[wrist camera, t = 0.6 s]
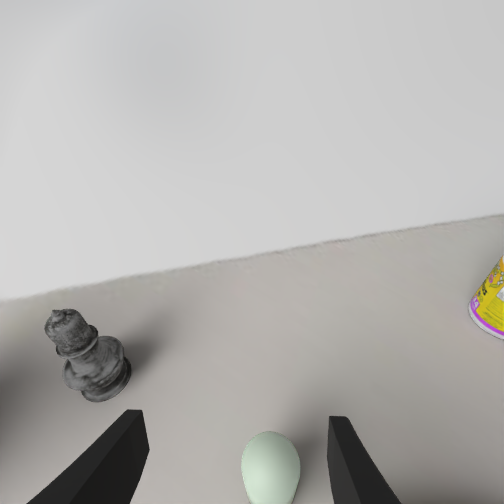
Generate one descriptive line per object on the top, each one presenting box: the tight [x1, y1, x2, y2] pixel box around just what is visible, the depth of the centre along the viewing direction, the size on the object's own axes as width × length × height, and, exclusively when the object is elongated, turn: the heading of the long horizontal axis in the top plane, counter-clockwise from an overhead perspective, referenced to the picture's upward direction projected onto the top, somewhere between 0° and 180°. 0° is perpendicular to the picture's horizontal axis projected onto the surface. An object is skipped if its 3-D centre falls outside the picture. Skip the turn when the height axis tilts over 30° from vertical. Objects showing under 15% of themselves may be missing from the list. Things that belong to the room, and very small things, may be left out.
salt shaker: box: [45, 309, 131, 402], centre depth 28 cm, size 6×6×12 cm
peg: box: [241, 432, 300, 504], centre depth 22 cm, size 4×4×7 cm
